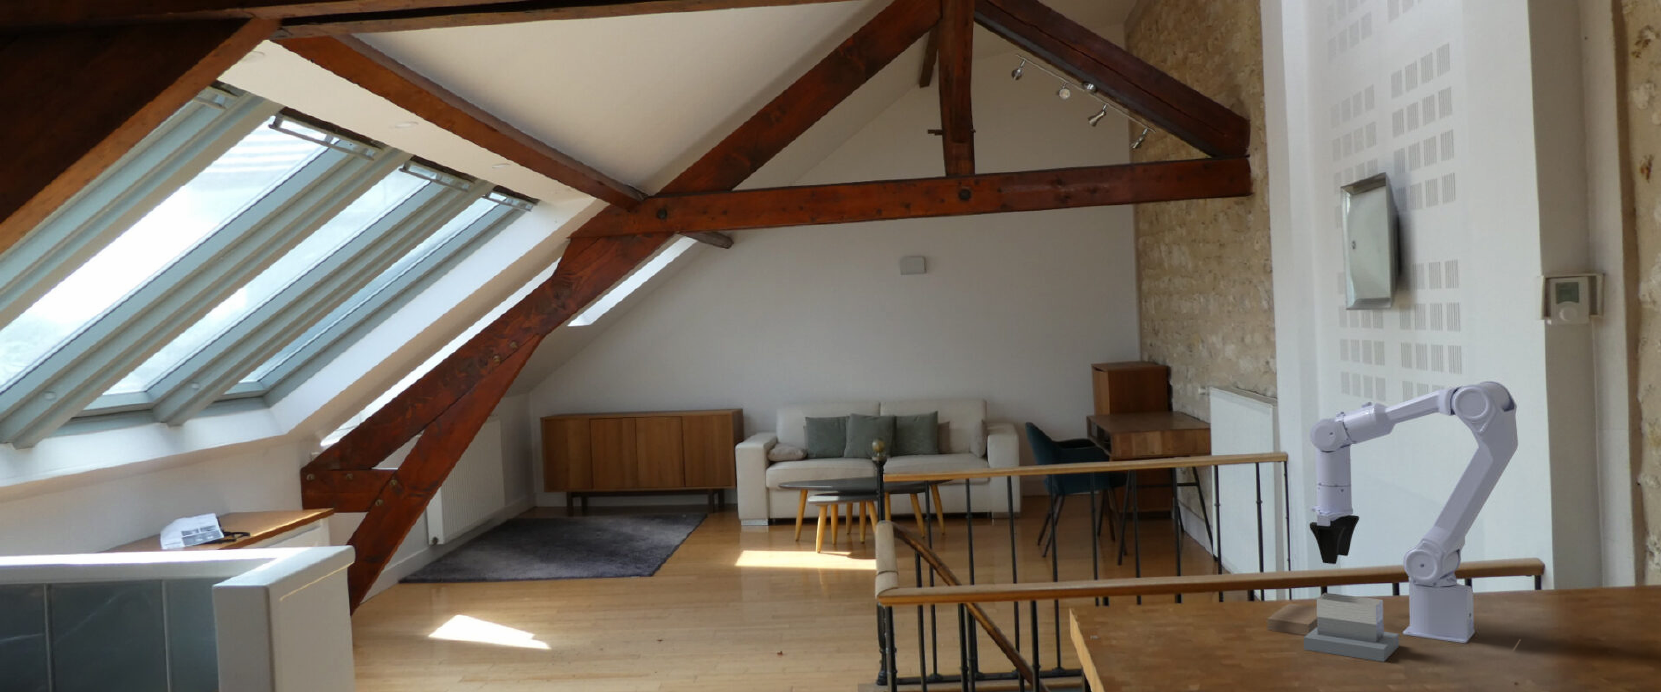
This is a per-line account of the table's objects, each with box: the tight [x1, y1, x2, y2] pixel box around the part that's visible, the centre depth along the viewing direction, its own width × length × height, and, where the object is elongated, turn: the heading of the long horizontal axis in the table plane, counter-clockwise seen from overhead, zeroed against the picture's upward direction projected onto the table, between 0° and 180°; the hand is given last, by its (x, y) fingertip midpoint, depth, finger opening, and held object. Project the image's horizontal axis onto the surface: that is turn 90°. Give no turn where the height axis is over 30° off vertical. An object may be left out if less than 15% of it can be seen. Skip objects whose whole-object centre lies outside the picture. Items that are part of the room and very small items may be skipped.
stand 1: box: [1266, 603, 1317, 637], centre depth 195 cm, size 7×12×2 cm, turn 140°
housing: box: [1316, 592, 1385, 643], centre depth 181 cm, size 4×9×6 cm, turn 50°
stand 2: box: [1303, 627, 1400, 662], centre depth 181 cm, size 12×10×2 cm
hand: (1335, 559), depth 199 cm, fingers open, 7 cm apart
